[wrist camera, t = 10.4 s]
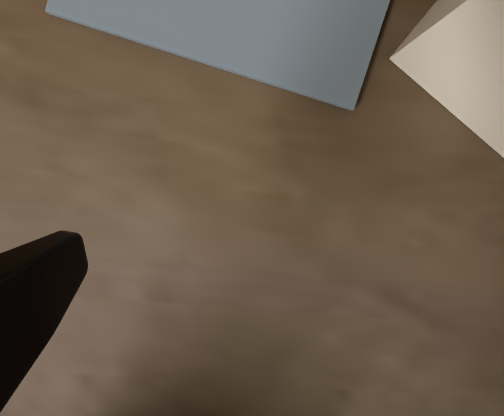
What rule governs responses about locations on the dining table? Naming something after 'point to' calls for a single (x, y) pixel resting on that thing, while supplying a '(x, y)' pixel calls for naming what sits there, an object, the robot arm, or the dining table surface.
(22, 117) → the dining table surface
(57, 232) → the robot arm
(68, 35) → the dining table surface
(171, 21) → the mat
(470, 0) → the white rectangular block
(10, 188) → the dining table surface
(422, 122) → the dining table surface
